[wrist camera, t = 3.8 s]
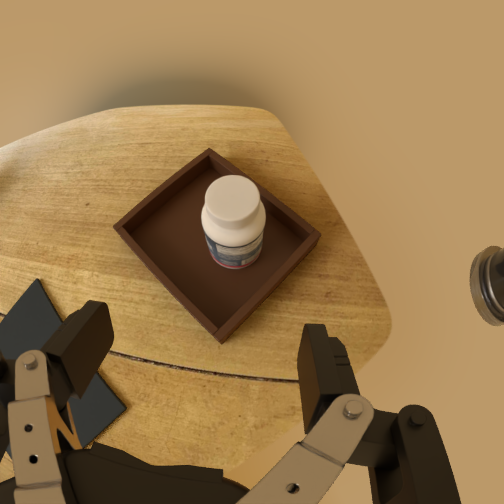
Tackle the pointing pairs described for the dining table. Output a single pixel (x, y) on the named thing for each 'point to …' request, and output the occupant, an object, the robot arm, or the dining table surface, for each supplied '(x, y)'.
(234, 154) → the dining table surface
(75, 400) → the mat
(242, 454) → the dining table surface
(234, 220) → the pill bottle
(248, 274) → the tray
